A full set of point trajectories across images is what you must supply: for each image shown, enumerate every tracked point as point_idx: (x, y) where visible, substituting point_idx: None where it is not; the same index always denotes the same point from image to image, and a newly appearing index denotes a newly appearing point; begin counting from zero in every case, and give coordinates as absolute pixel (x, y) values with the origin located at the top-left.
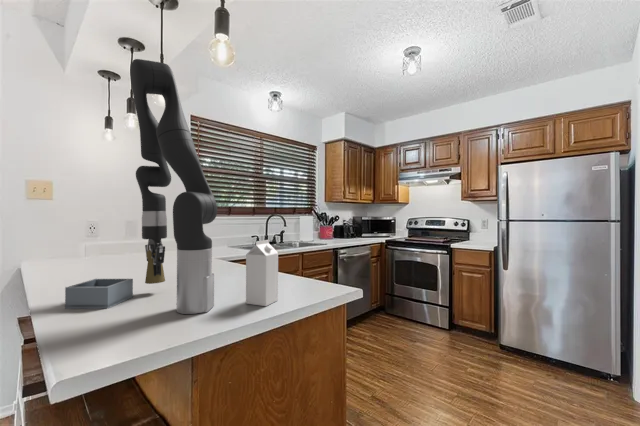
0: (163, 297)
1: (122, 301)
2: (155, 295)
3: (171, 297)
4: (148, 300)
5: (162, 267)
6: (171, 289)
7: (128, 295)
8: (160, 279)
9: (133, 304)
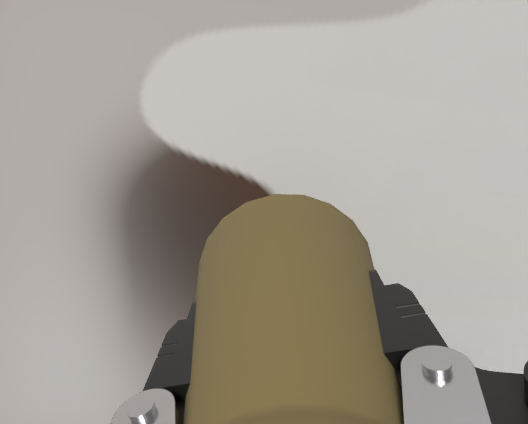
0: (438, 194)
1: None
2: None
3: (478, 143)
4: (456, 285)
5: (343, 292)
6: (195, 109)
7: None
8: (369, 254)
9: (495, 360)
